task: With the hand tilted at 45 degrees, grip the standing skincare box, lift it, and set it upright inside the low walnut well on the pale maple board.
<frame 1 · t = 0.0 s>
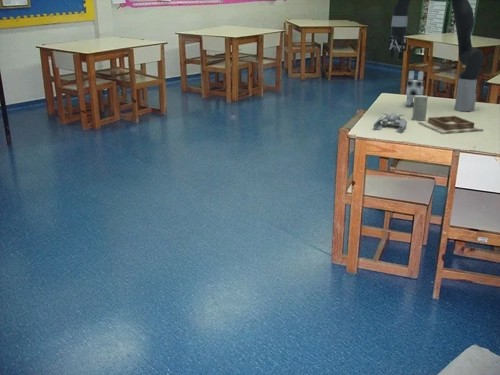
hand: (395, 58, 268), 29 cm above the table, tool pointing down, fingers open, 8 cm apart
spaceship toy: (390, 128, 254), on the table
holder: (450, 127, 254), on the table
skincare box: (418, 119, 269), on the table
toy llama: (413, 105, 301), on the table
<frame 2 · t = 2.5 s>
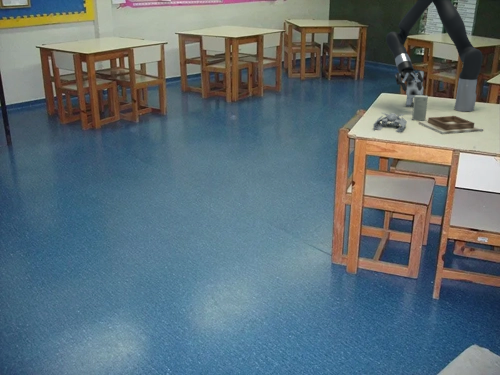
hand: (413, 90, 271), 14 cm above the table, tool tilted 45°, fingers open, 8 cm apart
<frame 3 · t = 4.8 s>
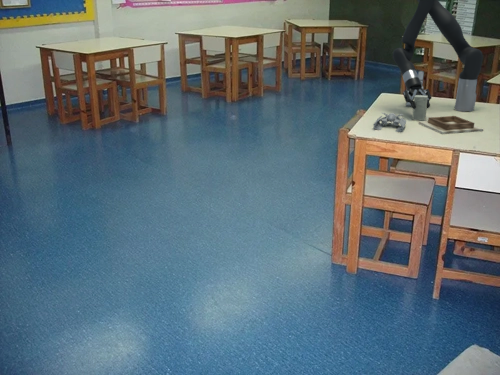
hand: (421, 107, 265), 6 cm above the table, tool tilted 45°, fingers closed on skincare box, 7 cm apart
skincare box: (418, 119, 269), on the table, touching gripper
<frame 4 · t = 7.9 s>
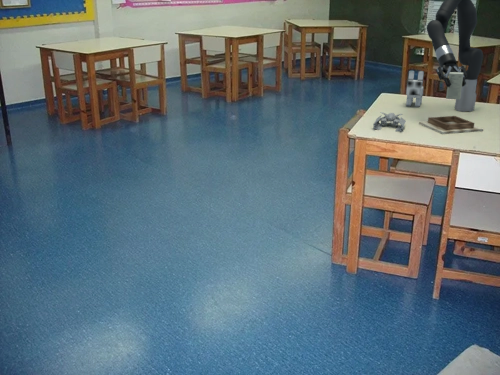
hand: (456, 85, 246), 20 cm above the table, tool tilted 45°, fingers closed on skincare box, 7 cm apart
skincare box: (452, 98, 250), point 14 cm above the table, touching gripper
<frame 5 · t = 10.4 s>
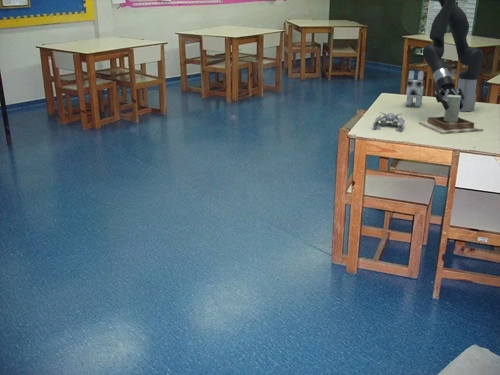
hand: (454, 108, 250), 10 cm above the table, tool tilted 45°, fingers closed on skincare box, 7 cm apart
skincare box: (450, 121, 253), point 3 cm above the table, touching gripper
when the fingers open (8 cm above the table, at t = 11.5 s): skincare box stays where it is, resting on holder.
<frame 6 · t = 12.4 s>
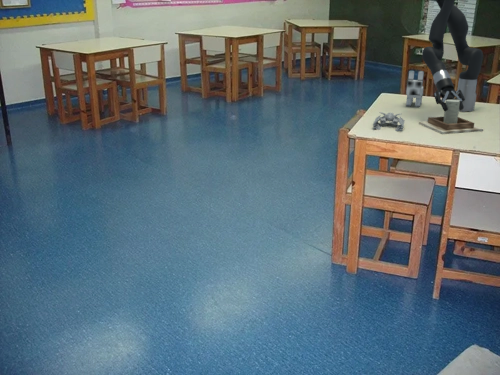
hand: (454, 110, 250), 9 cm above the table, tool tilted 45°, fingers open, 8 cm apart
skincare box: (449, 125, 254), point 1 cm above the table, touching gripper, holder
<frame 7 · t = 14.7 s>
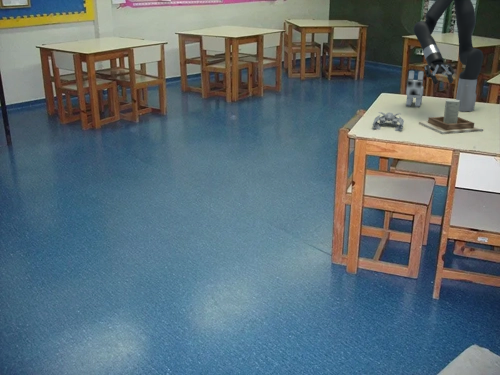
hand: (444, 82, 257), 20 cm above the table, tool tilted 45°, fingers open, 8 cm apart
skincare box: (449, 125, 254), point 1 cm above the table, touching holder
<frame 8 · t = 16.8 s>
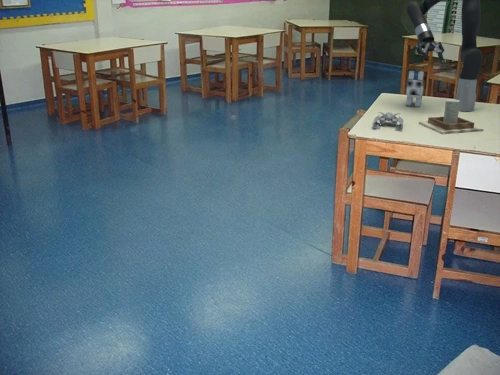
hand: (434, 59, 268), 29 cm above the table, tool tilted 45°, fingers open, 8 cm apart
at the end: skincare box inside the target area on the holder (0.3 cm from its centre), point 0.8 cm above the holder's base; skincare box tilted 0°; the gripper is holding nothing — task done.
